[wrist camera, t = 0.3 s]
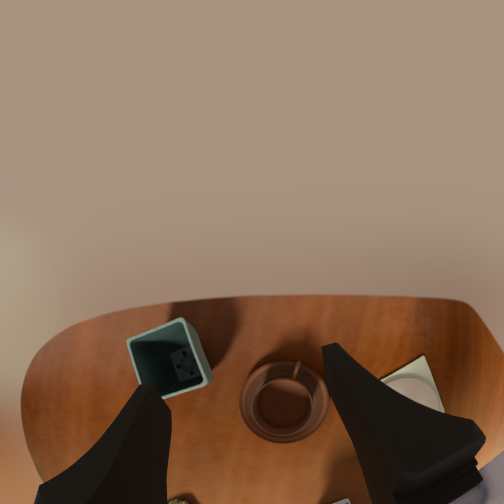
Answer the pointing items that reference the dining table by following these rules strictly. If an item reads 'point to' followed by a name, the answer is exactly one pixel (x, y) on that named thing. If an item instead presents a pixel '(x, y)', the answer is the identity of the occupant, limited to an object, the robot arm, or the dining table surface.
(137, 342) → the flower pot
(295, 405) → the cup and saucer
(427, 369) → the plate
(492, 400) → the dining table surface
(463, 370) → the dining table surface
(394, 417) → the robot arm
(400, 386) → the lid
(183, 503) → the washcloth
